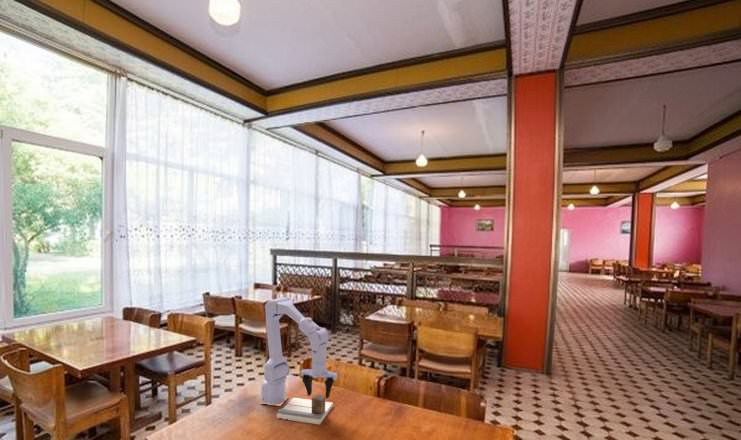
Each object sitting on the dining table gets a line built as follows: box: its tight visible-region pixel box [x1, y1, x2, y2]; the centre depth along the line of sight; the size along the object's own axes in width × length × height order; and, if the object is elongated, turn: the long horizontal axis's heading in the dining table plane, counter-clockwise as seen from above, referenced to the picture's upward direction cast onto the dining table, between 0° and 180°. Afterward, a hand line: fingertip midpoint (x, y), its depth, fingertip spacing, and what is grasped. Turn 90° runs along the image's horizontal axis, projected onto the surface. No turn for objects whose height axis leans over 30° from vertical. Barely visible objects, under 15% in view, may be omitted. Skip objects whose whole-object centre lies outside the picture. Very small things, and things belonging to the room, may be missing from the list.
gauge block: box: [311, 394, 326, 415], centre depth 131 cm, size 4×4×6 cm
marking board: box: [276, 397, 334, 425], centre depth 134 cm, size 18×14×2 cm
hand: (318, 395), depth 131 cm, fingers open, 7 cm apart
